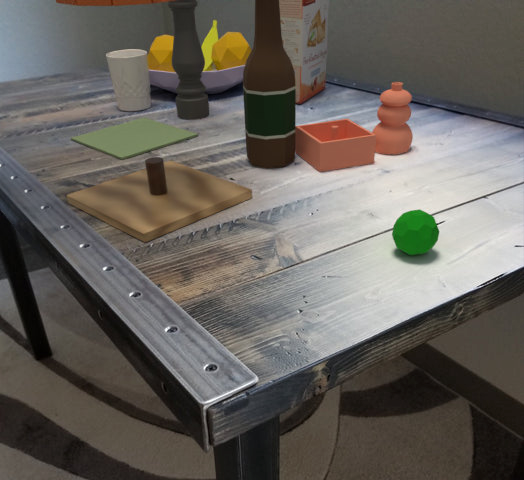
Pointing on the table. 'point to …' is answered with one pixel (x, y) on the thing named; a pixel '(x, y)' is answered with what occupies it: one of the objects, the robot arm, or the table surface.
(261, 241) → the table surface
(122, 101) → the white cup
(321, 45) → the cracker box
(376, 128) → the pottery
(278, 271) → the table surface
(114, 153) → the mat
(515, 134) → the table surface
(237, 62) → the fruit bowl
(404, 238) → the polyhedron
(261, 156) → the beer bottle
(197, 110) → the grey turned spindle
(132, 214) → the post stand
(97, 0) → the ring
